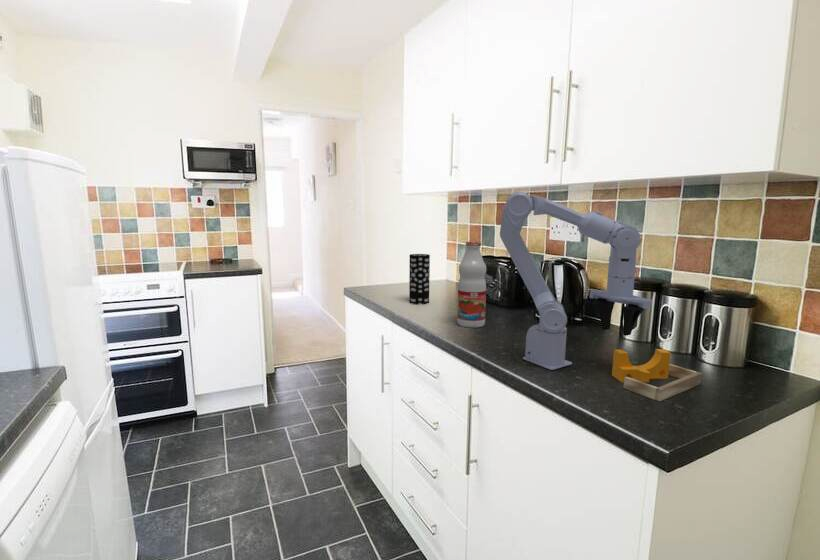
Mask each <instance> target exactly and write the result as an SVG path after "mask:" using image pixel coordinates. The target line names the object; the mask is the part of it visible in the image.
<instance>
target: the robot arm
mask: <svg viewBox="0 0 820 560" xmlns="http://www.w3.org/2000/svg"><path fill="white" fill-rule="evenodd" d="M531 212H533V216H540V215H547V216H549V217H552V218H554V219H557V220H560V221H563V222H565V223H568V224H571V225H574V226H575V227H577V228H578V232H579V233H580V234H579V235H583V236H585V237H587V238H590V239H593V240H595V241H597V242H600V243H602V244H604V245H607V244H609V245H610V252H609V257H608V269H607V278H606V279H607V280H606V282H607V283H606V290H599V289H591V290H589V298H590V299H596V301H594V302H593V305H594V307H595V309H596V310H597V313H598V316H599V319H600V324H601V329H602V331H607V330H610V329H611V324H612V314H613V309H614V306H615V304H616V303H618V304H623V305H625V306H621V309H622V316H623V317H622V319H623V325H622V327H623V328H622V335H623V336H625V337H627V336H630V335H632V332H633V329H634V327H635V324H636V322H637V320H638V318H639V317H640V315H641V314H642V312H644V310H649V309H652V303H653V300H652V299H649V298H646V297H641V296H638V295H634V288H635V278H636V276H635V274H636V266H637V249H638V248H639V246H640V245H641V243H642V238H641V234H640V232H639V231H638V229H636V227H634V226H630V225H626V224H623V221H622V220H620V219H617V220H614V219H611V218H610V217H607V216H604V215H603V212H601V211H599V210H597V211H596V212H594V211H588V212H585V213H581V212H579V211H576V210H574V209H571V208H569V207H568V206H565V205H562V204H560V203H558V202H556V201H553V200H552V199H549V198H547V197H541V196H538V195H533V194H530V195H529V194H528V193H526V192H524V191H517V192H514V193H512V194H510V195H509V196H508V198H507V200H506V201H505V203H504V206H503V207H502V210H501V218H500V219H501V220H500V228H499V229H500V230H499V237H500V239H501V241H502V244H503V245H504V247H505V249H506V251H507V252H508V254H509V256H510V258H511V260H512V262H513V264H514V266H515V268H516V270H517V271H518V274H519V275H520V277H521V279H522V280H523V283H524V285H525V287H526V288H527V291H528V292H529V294H530V296H531V298H532V300H533V302H534V306H535V307H536V309H537V311H538V315H539V322H538V324H534V325H532V326H530V327H529V328H528V330H527V332H526V337H525V353H524V354H525V355H524V356H523V357H522V359H523V360H525V361H527V362H529V363H532V364H534V365H538V366H540V367H541V368H545V369H547V370H550V371H553V370H557V369H560V368H563V367H567V366H571V365H573V362H572V361H569V360H567V359H566V349H567V347H566V345H567V333H568V332H567V331H568V328H567V327H566V326H567V323H568V316H567V314H566V312H565V307H564V306H563V304H562V302H560V301H559V300H557V299H556V298H555V296H554V295H553V292H552V291H551V289H550V288H549V286H548V283H546V281H545V278H544V276H543V274H542V272H541V271H540V269H539V267H538V265H537V264H536V262H535V260H534V258H533V256H532V255H531V253H530V251H529V249H528V247H527V245H526V243H525V241H524V239H523V237H522V236H521V231H522V229H523V227H524V224H525V223H524V222H525V221H526V219H527V218H528V217H529V216H530V214H531Z"/></svg>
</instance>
